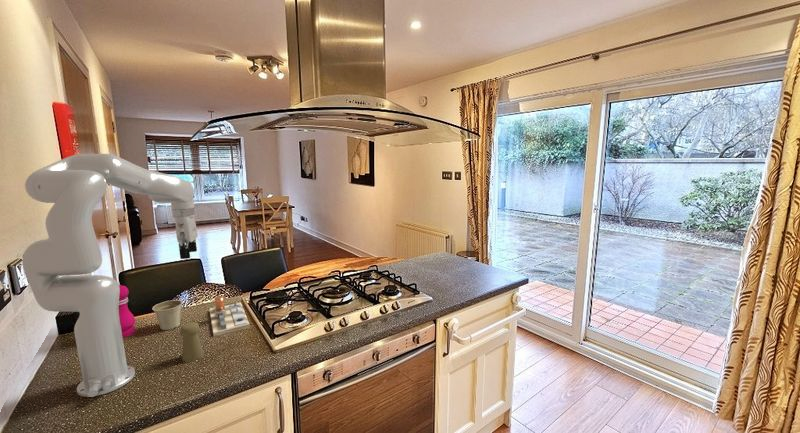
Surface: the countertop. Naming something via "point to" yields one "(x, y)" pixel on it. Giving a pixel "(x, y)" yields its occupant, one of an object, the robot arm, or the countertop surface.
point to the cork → (191, 342)
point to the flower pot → (168, 314)
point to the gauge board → (229, 319)
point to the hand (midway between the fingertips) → (189, 255)
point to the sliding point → (222, 306)
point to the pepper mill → (125, 313)
